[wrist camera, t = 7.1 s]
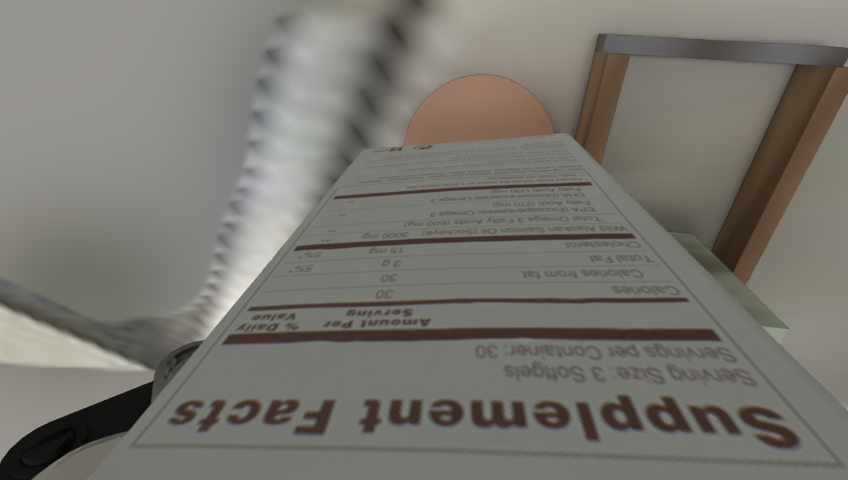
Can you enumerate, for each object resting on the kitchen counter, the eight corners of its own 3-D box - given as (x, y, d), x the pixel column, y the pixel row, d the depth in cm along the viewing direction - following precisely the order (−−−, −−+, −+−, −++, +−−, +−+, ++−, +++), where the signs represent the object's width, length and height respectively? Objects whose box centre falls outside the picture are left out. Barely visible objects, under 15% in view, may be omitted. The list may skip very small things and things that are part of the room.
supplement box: (559, 303, 17) (750, 856, 6) (386, 307, 18) (255, 791, 6) (574, 125, 13) (1155, 650, 2) (357, 140, 14) (-28, 569, 3)
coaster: (569, 79, 22) (571, 81, 21) (538, 226, 26) (540, 230, 26) (407, 69, 23) (405, 70, 22) (403, 212, 27) (402, 216, 26)
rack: (827, 46, 20) (1058, 60, 12) (693, 324, 28) (775, 440, 20) (599, 33, 21) (671, 39, 13) (536, 306, 29) (556, 410, 21)
